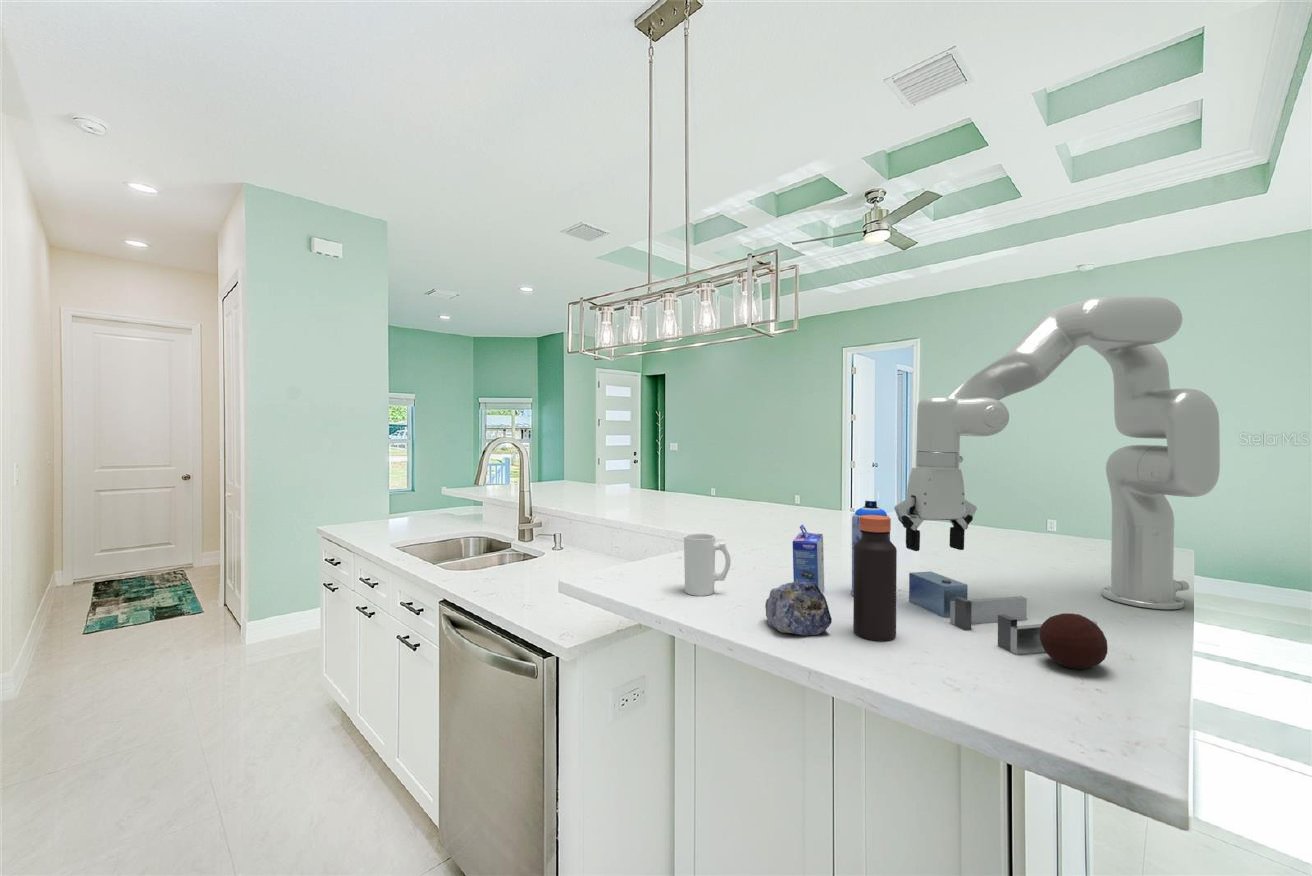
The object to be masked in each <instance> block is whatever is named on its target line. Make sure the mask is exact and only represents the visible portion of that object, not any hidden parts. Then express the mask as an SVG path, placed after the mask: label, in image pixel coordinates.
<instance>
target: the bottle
mask: <svg viewBox="0 0 1312 876" xmlns="http://www.w3.org/2000/svg"><path fill="white" fill-rule="evenodd" d="M891 519H892V518H891V517H890V516H889V517H886V516H879V515H863V516H860V532H861V533H862V537H861V538H860V539H859V540H858V541H857V542H856V543H855V544H854V597H853V607H852V608H853V612H852V613H853V619H852V620H853V621H852V623H853V624H852V625H853V633H854V634H856V635H857V636H859V638H860V637H861V638H863V639H866V640H870V641H877V642H884V641H885V642H886V641H892V640H894V639H895V638H896V636H897V571H898V570H897V567H898V566H897V563H898V562H897V561H898V560H897V559H898V558H897V557H898V556H897V554H898V553H897V552H898V551H897V547H896V545H894V543H893V542H892V541H891V539H890V540H889V539H888V538H889V534H890V535H891V529H892V528H891V524H892V523H891V522H892V520H891ZM889 531H890V532H889Z"/></svg>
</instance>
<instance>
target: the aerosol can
mask: <svg viewBox="0 0 1312 876" xmlns="http://www.w3.org/2000/svg"><path fill="white" fill-rule="evenodd" d="M863 515H879V516H886V517H890V515H889V514H887V512H886V511H885V510H884V509H882V508H881V507H879V506H878V502H877V500H865V501H864V505H863V506H861V507H860V508H858V509H856V511H855V512H854V513H852V516H851V591H850V596H852V597H853V598H854V544H855V543H856V542H857V541H858V540H859V539H860V538H861V537H862V533H861V532H860V516H863ZM889 532H890V534H889V538H888V539H889V540H890V541H891V531H889Z"/></svg>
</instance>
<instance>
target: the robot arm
mask: <svg viewBox="0 0 1312 876" xmlns="http://www.w3.org/2000/svg"><path fill="white" fill-rule="evenodd" d="M1182 324H1183V313H1182V311H1181V309H1180V308H1179V306H1178V305H1177V303H1175V302H1173V301H1172V300H1170V299H1168V298H1165V297H1159V296H1099V297H1091V298H1087V299H1084V300H1080V301H1076V302H1073V303H1070V304H1065V305H1062V306H1058V307H1055V308H1052V310H1050V311H1049V312H1047V313H1045V315H1043V317H1042V318H1040V320H1038V321H1037V322H1036V323H1035V324H1034V325H1033V327H1031V328H1030V329H1029V330H1028V332H1027V333H1025V335H1024V336H1022V337H1021V338H1020V340H1019V341H1018V342H1016V343H1015V344H1014V345H1013V347H1011V348H1010V349H1009V350H1008V351H1007V352H1006V353H1004V354H1003V355H1001V357H999V358H997V359H996V360H994V361H992V362H991V363H989V364H988V365H987V366H985V367H984V368H983V369H980V370H978V371H977V372H976V373H974V374H973V375H971V376H970V377H968V378H967V379H966V380H965V381H963V382H962V383H961V384H960V385H959V386H958V387H956V388H955V390H953V391H952V392H951V393H950V395H949V396H947V397H925V398H922V399H921V400H919V401H918V403H917V409H916V411H917V414H916V449H915V451H916V452H915V467H912V468H911V470H910V473H909V477H908V483H907V489H906V498H905V500H903V501H901V502H900V503H898V504H895V506H894V512H895V513H896V515H897V519H898V521H899V522H900V524H902V526H903V528H905V548H906V549H908V550H909V551H910V550H911V551H914V552H919V551H920V549H921V548H920V547H921V531H920V530H918V528H919V527H920V525H922V523H923V522H924V521H949V522H950V524H951V525H952V526H950V528H949V547H950V548H952V549H956V550H958V551H964V550H965V531H966V530H968V528H969V524H970V523H972V521H973V520H974V515H975V514H976V511H977V510H978V509H977V508H978V507H977V505H975V504H974V503H971V502H970V501H968V500H966V495H965V484H964V477H963V471H962V469H961V468H960V463H962V462H963V461H964V457H963V456H962V455H960V449H961V448H960V446H961V437H990V436H993V435H997V434H999V433H1000V432H1002V431H1003V430H1005V428H1006V427H1007V426H1008V424H1009V421H1010V412H1009V409H1008V407H1007V406H1006V405H1005V404H1004V403H1003V402H1001V400H1002V399H1004V398H1007V397H1009V396H1012V395H1015V394H1017V393H1021V392H1023V391H1027V390H1029V389H1031V388H1033V387H1035V386H1037V385H1040V384H1041V383H1042V382H1044V381H1045V380H1047V379H1048V378H1049V377H1050V376H1051V374H1052V373H1053V372H1054V371H1055V370H1057V368H1058V367H1059V366H1060V365H1061V364H1062V363H1063V362H1064V361H1065V360H1066V359H1067V358H1068V357H1070V355H1072V353H1074V351H1075V350H1076V349H1078V348H1080V347H1083V346H1088V347H1089V348H1091V349H1092V350H1094V351H1095V352H1097V353H1098V355H1100V356H1102V357H1103V359H1104V360H1105V361H1106V362H1107V364H1108V365H1109V366H1110V369H1111V372H1112V375H1113V377H1112V378H1113V407H1114V408H1113V411H1114V412H1113V413H1114V423H1115V427H1116V430H1117V431H1118V433H1120V434H1121V435H1123V436H1126V437H1128V438H1135V439H1154V440H1155V439H1161V440H1165V439H1166V445H1159V444H1158V445H1157V444H1153V445H1152V444H1133V445H1132V444H1131V445H1126V446H1122V447H1120V448H1118V449H1115V451H1113V452H1112V453H1111V454H1110V455H1109V456H1108V458H1107V461H1106V465H1105V472H1106V479H1107V482H1108V486H1109V491H1110V492H1109V493H1110V498H1111V499H1110V501H1111V543H1110V544H1111V545H1110V546H1111V548H1110V549H1111V551H1110V552H1111V553H1110V555H1111V558H1110V559H1111V560H1110V563H1111V564H1110V569H1111V570H1110V586H1105V587H1103V588H1101V592H1100V593H1101V595H1102V596H1103V597H1104V598H1106V599H1108V600H1110V601H1114V602H1117V603H1120V604H1124V605H1128V606H1129V605H1130V606H1134V607H1139V608H1145V609H1155V610H1179V609H1183V608H1184V606H1185V601H1184V600H1183V599H1182V598H1180V597H1179V596H1176V595H1177V594H1176V593H1177V592H1183V591H1188V590H1189V589H1190V584H1189V583H1188V582H1187V581H1185V580H1176V579H1174V558H1175V557H1174V555H1175V551H1174V550H1175V547H1174V544H1175V516H1174V515H1175V514H1174V511H1173V509H1172V506H1171V504H1170V502H1169V501H1168V499H1167V497H1166V496H1174V497H1184V498H1185V497H1186V498H1197V497H1198V498H1199V497H1202V496H1206V495H1207V494H1209V493H1210V492H1212V490H1213V489H1214V488H1215V486H1216V485H1217V482H1218V480H1219V477H1220V472H1221V471H1220V469H1221V468H1220V466H1221V460H1220V459H1221V457H1220V456H1221V454H1220V453H1221V451H1220V449H1221V447H1220V445H1221V444H1220V443H1221V441H1220V439H1221V438H1220V437H1221V436H1220V415H1219V410H1218V408H1217V406H1216V404H1215V402H1214V401H1213V399H1212V398H1211V396H1209V395H1208V394H1207V393H1205V392H1203V391H1201V390H1198V389H1195V388H1172V389H1171V383H1170V374H1169V373H1170V372H1169V365H1168V361H1167V359H1166V357H1165V356H1164V353H1162V352H1161V351H1160V350H1159V348H1158V347H1156V346H1155V344H1160V343H1163V342H1166V341H1168V340H1170V339H1172V338H1173V337H1174V336H1175V335H1176V334H1177V333H1178V332H1179V330H1180V328H1182V327H1181V326H1182Z"/></svg>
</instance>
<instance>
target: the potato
mask: <svg viewBox="0 0 1312 876" xmlns="http://www.w3.org/2000/svg"><path fill="white" fill-rule="evenodd" d="M1092 621H1093V620H1091V619H1089V618H1088V617H1086V616H1084V615H1081V614H1080V613H1070V612H1069V613H1067V612H1066V613H1059V614H1055V615H1052V616H1049V617H1048V618H1047V619H1046V620H1045V621H1044V622H1042V623H1041V624H1042V625H1041V628H1040V631H1039V635H1040V641H1041V644H1042V646H1043V648H1044V650H1045V652H1044V653H1046V654H1047V655H1048V656H1049V657H1050V659H1052V660H1053V661H1055V662H1056V663H1058V664H1060V665H1062V666H1065V667H1067V668H1070V669H1075V670H1076V669H1077V670H1089V669H1092V668H1094V667H1096V666H1098V665H1100V664H1101V663H1103V662H1104V661H1105V659H1106V657H1107V655H1108V650H1109V649H1108V648H1109V647H1108V640H1107V638H1106V636H1105V634H1104V632H1103V630H1102V629H1101V628H1100V627H1099V626H1098V624H1097V625H1096V624H1095V623H1094V622H1095V621H1094V622H1092Z"/></svg>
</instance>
